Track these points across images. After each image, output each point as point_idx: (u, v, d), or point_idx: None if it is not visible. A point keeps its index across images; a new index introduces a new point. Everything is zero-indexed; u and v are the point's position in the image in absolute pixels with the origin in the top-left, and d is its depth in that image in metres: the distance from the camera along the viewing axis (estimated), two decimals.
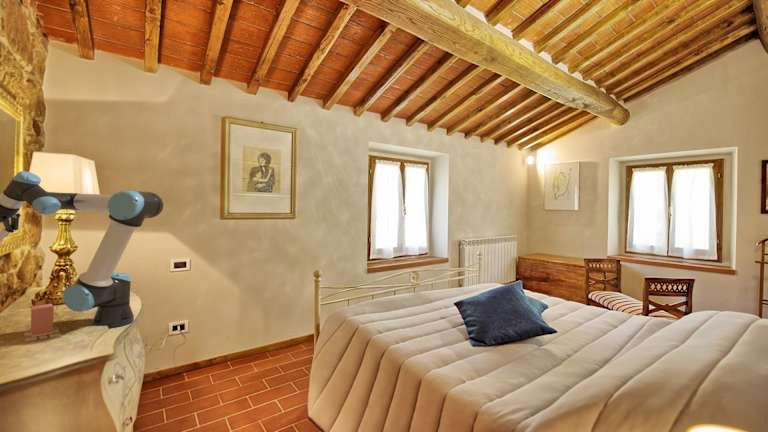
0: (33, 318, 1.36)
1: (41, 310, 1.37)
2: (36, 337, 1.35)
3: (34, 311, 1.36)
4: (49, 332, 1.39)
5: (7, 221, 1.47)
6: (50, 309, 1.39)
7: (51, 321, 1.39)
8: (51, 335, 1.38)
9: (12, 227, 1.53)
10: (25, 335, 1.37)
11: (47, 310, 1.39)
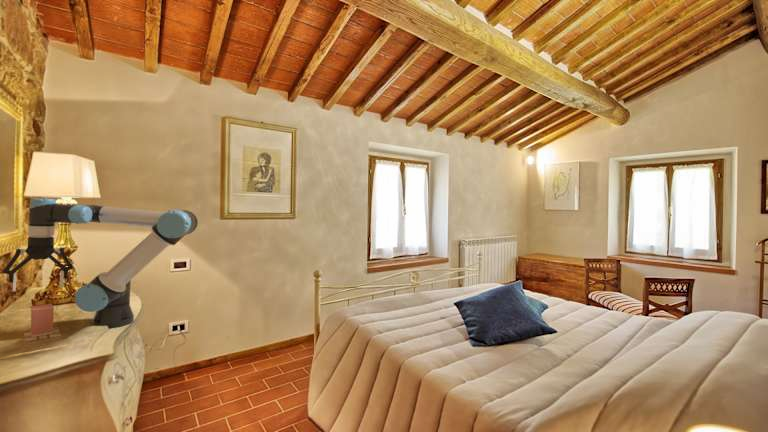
0: (33, 318, 1.36)
1: (41, 310, 1.37)
2: (36, 337, 1.35)
3: (34, 311, 1.36)
4: (49, 332, 1.39)
5: (50, 256, 1.41)
6: (50, 309, 1.39)
7: (51, 321, 1.39)
8: (51, 335, 1.38)
9: (68, 266, 1.46)
10: (25, 335, 1.37)
11: (47, 310, 1.39)
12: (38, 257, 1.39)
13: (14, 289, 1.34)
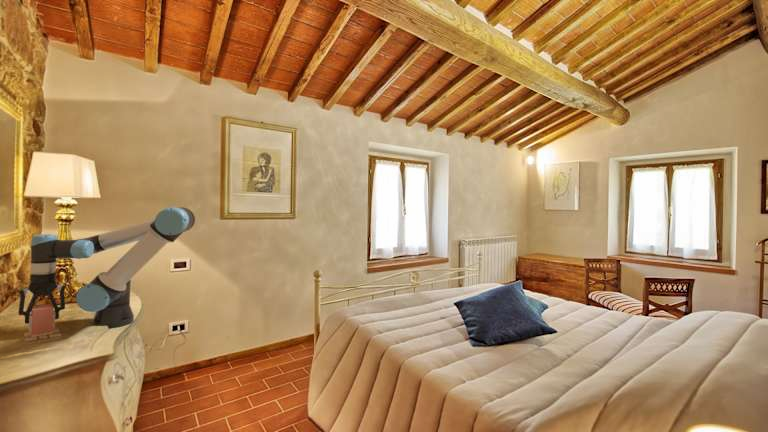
0: (33, 318, 1.36)
1: (41, 310, 1.37)
2: (36, 337, 1.35)
3: (34, 311, 1.36)
4: (49, 332, 1.39)
5: (50, 293, 1.40)
6: (50, 309, 1.39)
7: (51, 321, 1.39)
8: (51, 335, 1.38)
9: (59, 307, 1.44)
10: (25, 335, 1.37)
11: (47, 310, 1.39)
12: (41, 294, 1.39)
13: (30, 330, 1.37)
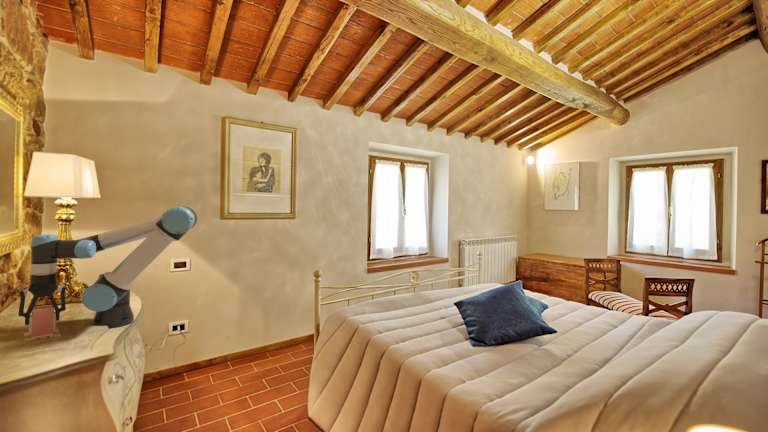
0: (33, 319, 1.34)
1: (41, 311, 1.35)
2: None
3: (34, 312, 1.34)
4: (49, 334, 1.37)
5: (50, 294, 1.39)
6: (50, 310, 1.37)
7: (51, 323, 1.38)
8: (51, 335, 1.38)
9: (60, 308, 1.42)
10: (25, 335, 1.37)
11: (47, 311, 1.37)
12: (41, 295, 1.37)
13: (30, 331, 1.35)
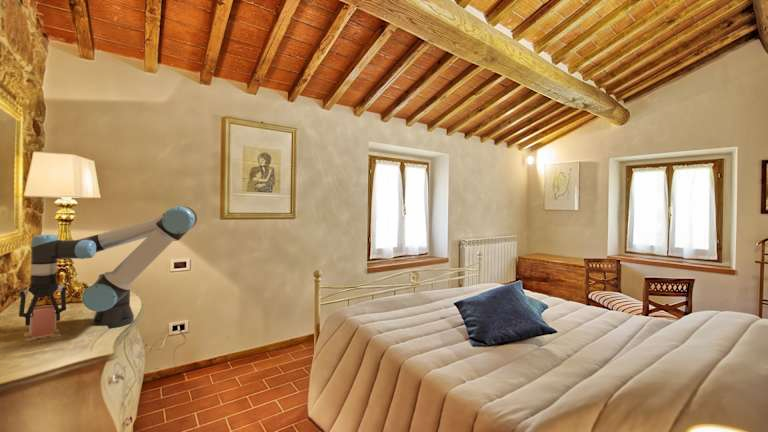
0: (34, 320, 1.34)
1: (42, 311, 1.35)
2: None
3: (35, 312, 1.34)
4: (50, 334, 1.37)
5: (50, 295, 1.39)
6: (51, 310, 1.37)
7: (52, 322, 1.38)
8: None
9: (60, 308, 1.42)
10: (25, 335, 1.37)
11: (48, 311, 1.37)
12: (41, 295, 1.37)
13: (31, 332, 1.35)
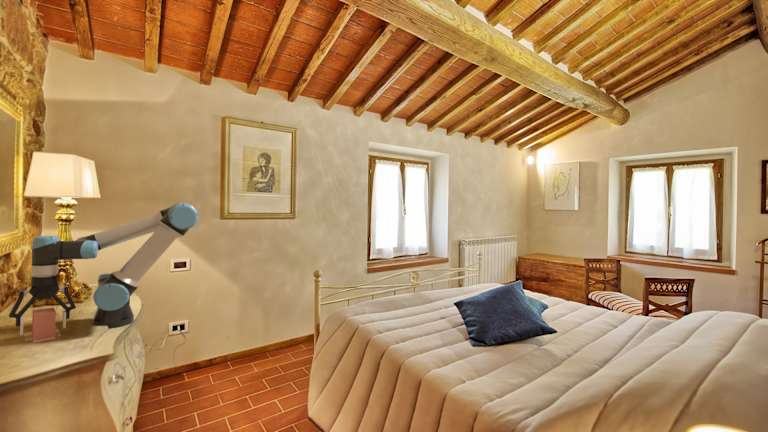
0: (34, 323, 1.31)
1: (43, 314, 1.32)
2: None
3: (35, 316, 1.31)
4: (51, 337, 1.34)
5: (53, 296, 1.36)
6: (52, 313, 1.34)
7: (53, 326, 1.35)
8: None
9: (70, 306, 1.41)
10: (25, 335, 1.37)
11: (49, 314, 1.34)
12: (42, 297, 1.34)
13: (21, 333, 1.30)
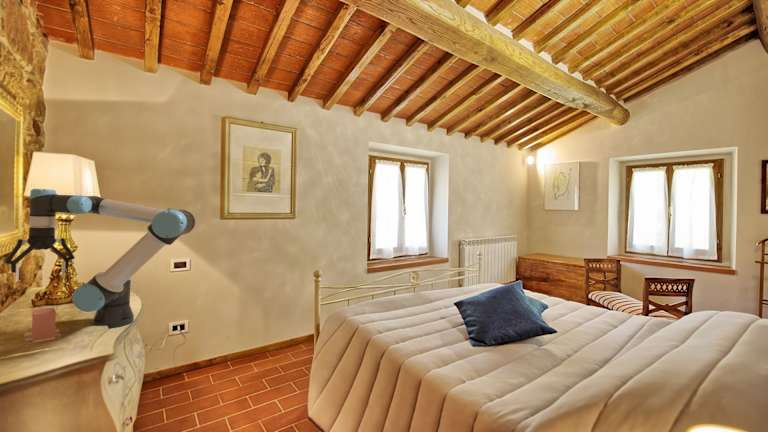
0: (34, 323, 1.31)
1: (43, 314, 1.32)
2: None
3: (35, 316, 1.31)
4: (51, 337, 1.34)
5: (51, 246, 1.42)
6: (52, 313, 1.34)
7: (53, 326, 1.35)
8: None
9: (69, 257, 1.48)
10: (25, 335, 1.37)
11: (49, 314, 1.34)
12: (40, 247, 1.40)
13: (17, 279, 1.35)
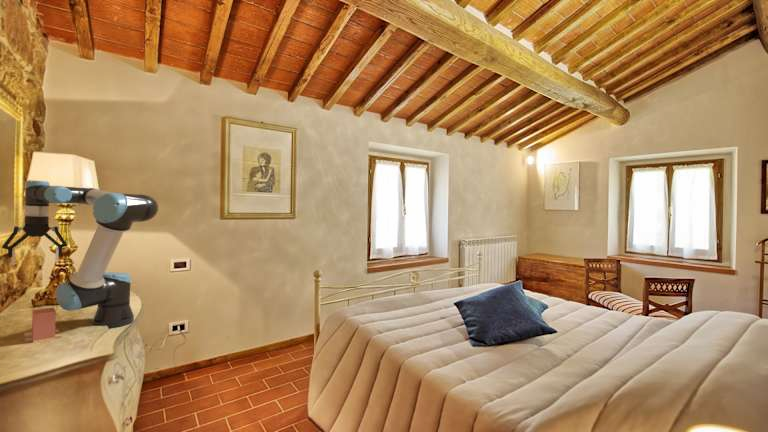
0: (34, 323, 1.31)
1: (43, 314, 1.32)
2: None
3: (35, 316, 1.31)
4: (51, 337, 1.34)
5: (45, 234, 1.53)
6: (52, 313, 1.34)
7: (53, 326, 1.35)
8: None
9: (62, 244, 1.59)
10: (25, 335, 1.37)
11: (49, 314, 1.34)
12: (34, 234, 1.51)
13: (13, 263, 1.47)
